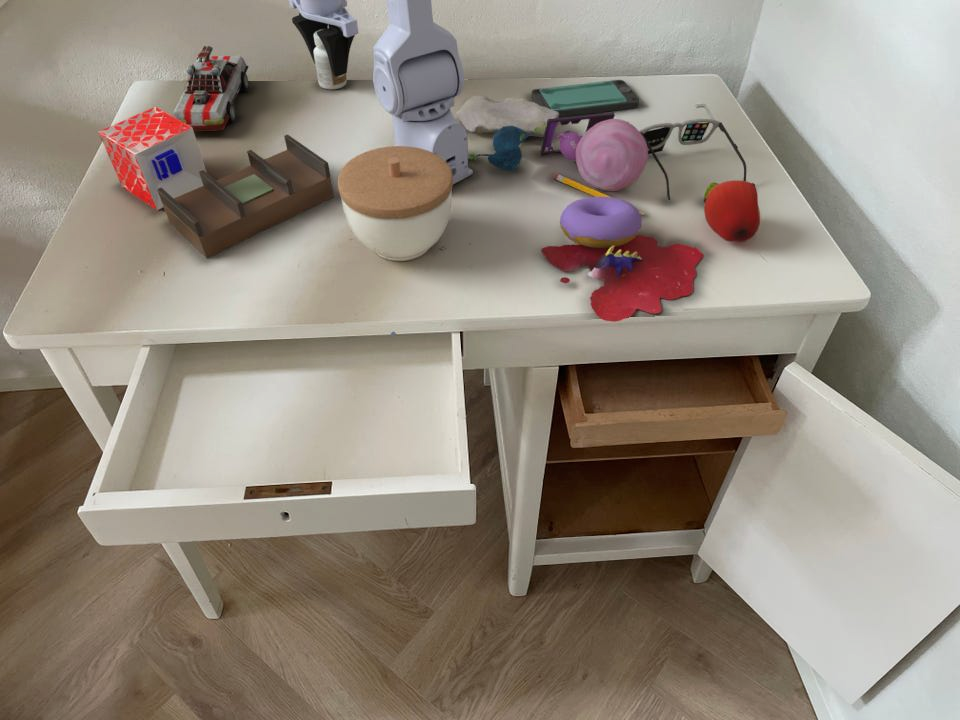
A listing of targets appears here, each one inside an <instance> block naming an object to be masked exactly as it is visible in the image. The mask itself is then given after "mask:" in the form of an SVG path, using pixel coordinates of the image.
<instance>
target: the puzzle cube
mask: <svg viewBox="0 0 960 720" xmlns="http://www.w3.org/2000/svg"><path fill="white" fill-rule="evenodd" d="M98 134H99V137H100V139H101V142H102V144H103V146H104V149H105V151H106V153H107V156H108V158H109V160H110V163H111V165H112V167H113V169H114V172H115V174H116V177H117V178H118V181H119V184H120V185H121V188H123V189H124V190H126V191H127V192H128V193H130V194H131V195H133V196H134V197H136V198H138V199H139V200H141V201H143V202H144V203H145V204H147V205H148V206H150V207H151V208H153V209H155V211H159V210H161V209H164V207H163V204H162V201H161V199H160V196H159V194H158V191H157V189H159V188H163V189H164V190H165V191H166V192H167V193H168V194H169V195H170V196H171V197H172V198H176V197H179V196H181V195H183V194H185V193H188V192H190V191H192V190H195V189H197V188H199V187H202V186H204V185H203V183H202V180H201V177H200V173H199V171H202V170H204V171H205V172H206V173H207V174H208V171H207V169H206V166H205V162H204V160H203V159H204V158H203V156H202V153H201V150H200V147H199V144H198V140H197V138H196V135H195V134H196V133H195V131H193V128H192V127H190V126H189V125H187V124H185V123H183V122H182V121H180V120H178V119H176V118H174V117H173V116H172V115H171V114H169V113H167V112H165V111H163V110H162V109H160V108H158V107H157V106H154V107H150V108H149V109H146V110H144V111H142V112H139V113H138V114H135V115H133V116H131V117H128V118H126V119H124V120H122V121H119V122H117V123H115V124H112V125H110V126H107V127H105V128H103V129H101V130H99V131H98Z"/></svg>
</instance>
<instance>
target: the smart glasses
mask: <svg viewBox="0 0 960 720" xmlns="http://www.w3.org/2000/svg"><path fill="white" fill-rule="evenodd" d="M694 106H695V108H696V109H704V110H705V112H706V113H707V115H708V116H709V118H695V119H689V120H685V121H683V122H675V123H671V122H664V123H657V124H652V125H649V126H647V127H644V128H642V129H640V130H638V131H639V132H640V133H641V134H642V136H643V137H644V139H645V141H646V144H647V149H648V155H652V157H653V159H654V160H655V162H656V163H657V165H658V167H659V169H660V170H661V172H662V173H663V176H664V178H665V183H666V197H667V200H668V201H670V200H671V194H670V182H669V177H668V174H667V172H666V170H665V167H664V166H663V164H662V163H661V161H660V159H659V158H658V156H657V154H656V153H661V152H663V150H664V149H665V148H664V147H665V145H666V144H667V142H668V140H669V138H670V137H671V134H672V132H673V131H674V129H675V128H678V131H677V141H678V142H679V144H680V145H682V146H691V145H699V144H703V143H705V142H707V141H709V139H710V138H711V137H712V135H713V134H714V132H715V131H716V130H717V129H718V128H719V130H720V132H722V133H724V135H725V137H726V138H727V140H728V142H729V143H730V145H731V147H732V148H733V150H734V152H735V153H736V155H737V156H738V159H739V160H740V161H741V163H742V166H743V167H742V168H743V180H742V181H747V170H748V169H747V163H746V160H745V158H744V156H743V155H742V154H741V151H740V150H739V149H738V145H737V144H736V143H735V142H734V140H733V139H732V137H731V135H730V134H729V132H728V130H727V129H726V127H725V126H724V124H723V122H722V121H720V120H717V119H716V118H715V116H714V114H712V112H711V110H710V109H709V106H707V104H706V103H696V104H695V105H694ZM710 124H712V127H711V129H710V130H709V132H708V134H707V135H706V136H705V134H706V132H707V130H708V128H709V125H710ZM683 130H684V132H683ZM704 136H705V137H704Z"/></svg>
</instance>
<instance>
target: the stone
mask: <svg viewBox="0 0 960 720" xmlns="http://www.w3.org/2000/svg"><path fill="white" fill-rule="evenodd" d="M456 117H457V119H458V120H459V123H462V125H463V126H464V128H465V129H466V131H469V132H470V133H483V134H486V133H493V134H495V133H497V132H498V131H499V130H500V129H501V128H502V127H504V126H514V127H518V128H519V129H521V130H522V131H524V132H525V133H527V134H528V135H529V134H531V133H533V132H534V131H535V130H534V129H535V127H536V126H537V125H538V124H540V123H541V122H542V121H545V122H546V124H547V120H548V119H551V118H552V117H555V118H560V117H559V112H556V111H554V110H552V109H549V108H547V107H542V106H539V105H538V104H537V103H534V101H530V100H528V99H526V98H522V97H520V98H514V97H507V98H505V100H504V101H500V102H495V101H494V100H493V98H491V97H489V96H485V95H473V96H472V97H470V98H469V99H467V100H466V101H465V103H463V104H462V106H461V107H460V108H459V109H458V111H456ZM546 124H545V125H546ZM545 125H544V126H545ZM544 126H543V127H544ZM545 129H546V128H545ZM545 129H544V130H543V131H541V134H537V133H533V134H532V135H530V136H528V135H527V136H528V137H538V138H544V133H545Z"/></svg>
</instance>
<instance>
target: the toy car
mask: <svg viewBox="0 0 960 720" xmlns="http://www.w3.org/2000/svg"><path fill="white" fill-rule="evenodd" d="M213 50H214V48H213V47H212V46H210V45H204V46H202V47H201V50H200V52H198V54H197V56H196V60H195V61H194V63H190V64H188V65H187V67H186V73H187V75H188V76H187V79H186V83H185V86H184V90H183V93H182V94H181V96H180V98H179V100H178V102H177V104H176V107H175V108H174V110H173V112H172V115H171V116H173V117H174V118H176V119H178V120H180V121H182V122H183V123H185V124H187V125H189V126H190V127H192V128H193V131H194V132H195V131H199V132H200V131H202V132H203V131H222V130H224V129H225V127H226V125H227V124H228V123H234V122H235V120H236V110H235V106H234V105H233V104H234V102H235V100H236V98H237V96H238V94H239V92H240V91H242V92H245V91H248V89H249V86H250V85H249V83H250V82H249V78H248V75H247V71H248V69H249V68H250V67H249V65H248V64H247V63H246V61H245V59H244V57H242V56H241V55H212V52H213Z"/></svg>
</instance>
